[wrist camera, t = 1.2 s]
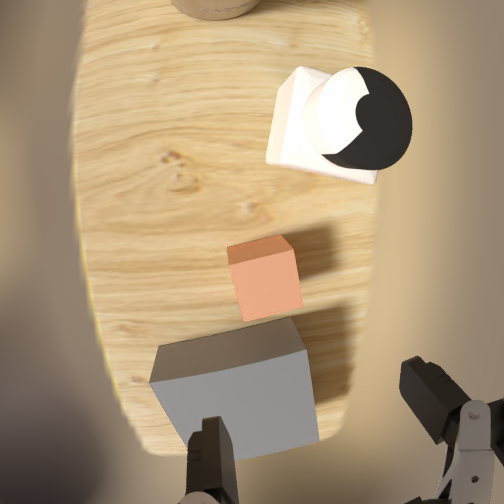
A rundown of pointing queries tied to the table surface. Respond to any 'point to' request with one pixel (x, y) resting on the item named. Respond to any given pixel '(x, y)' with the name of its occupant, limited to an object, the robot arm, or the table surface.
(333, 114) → the medicine bottle
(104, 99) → the table surface
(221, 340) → the slate pedestal
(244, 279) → the terracotta cube
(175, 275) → the table surface
